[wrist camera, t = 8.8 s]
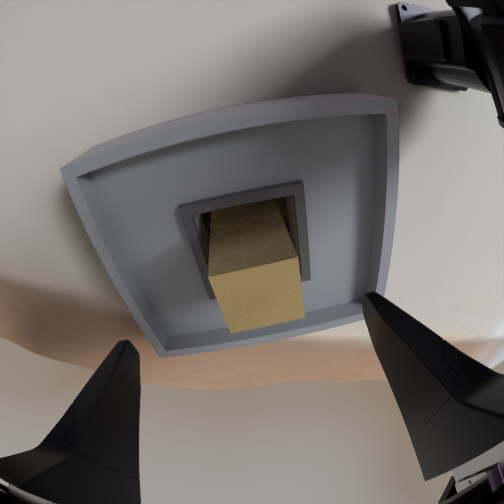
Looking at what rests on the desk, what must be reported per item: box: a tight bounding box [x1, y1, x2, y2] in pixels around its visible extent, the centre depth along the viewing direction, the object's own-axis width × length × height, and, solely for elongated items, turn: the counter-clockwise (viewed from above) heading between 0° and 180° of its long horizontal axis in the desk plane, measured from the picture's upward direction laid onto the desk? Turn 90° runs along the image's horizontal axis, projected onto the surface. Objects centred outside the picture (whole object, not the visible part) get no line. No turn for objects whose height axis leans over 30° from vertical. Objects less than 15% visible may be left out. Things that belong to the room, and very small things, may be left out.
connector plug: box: [208, 199, 305, 333], centre depth 17 cm, size 4×4×8 cm
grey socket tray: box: [60, 92, 399, 357], centre depth 18 cm, size 18×16×4 cm
